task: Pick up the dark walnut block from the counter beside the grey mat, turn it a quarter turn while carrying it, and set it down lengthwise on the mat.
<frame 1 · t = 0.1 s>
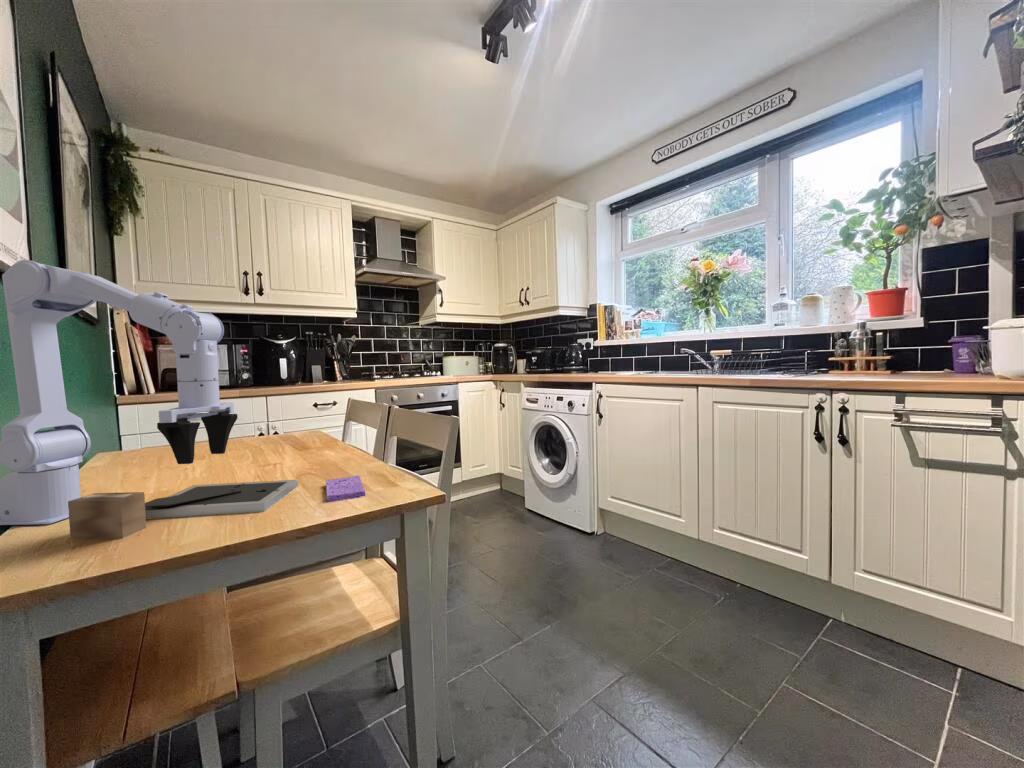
hand: (202, 458, 71), 10 cm above the table, tool pointing down, fingers open, 7 cm apart
picture frame: (226, 505, 79), on the table
walnut block: (109, 534, 64), on the table
sponges: (344, 494, 84), on the table
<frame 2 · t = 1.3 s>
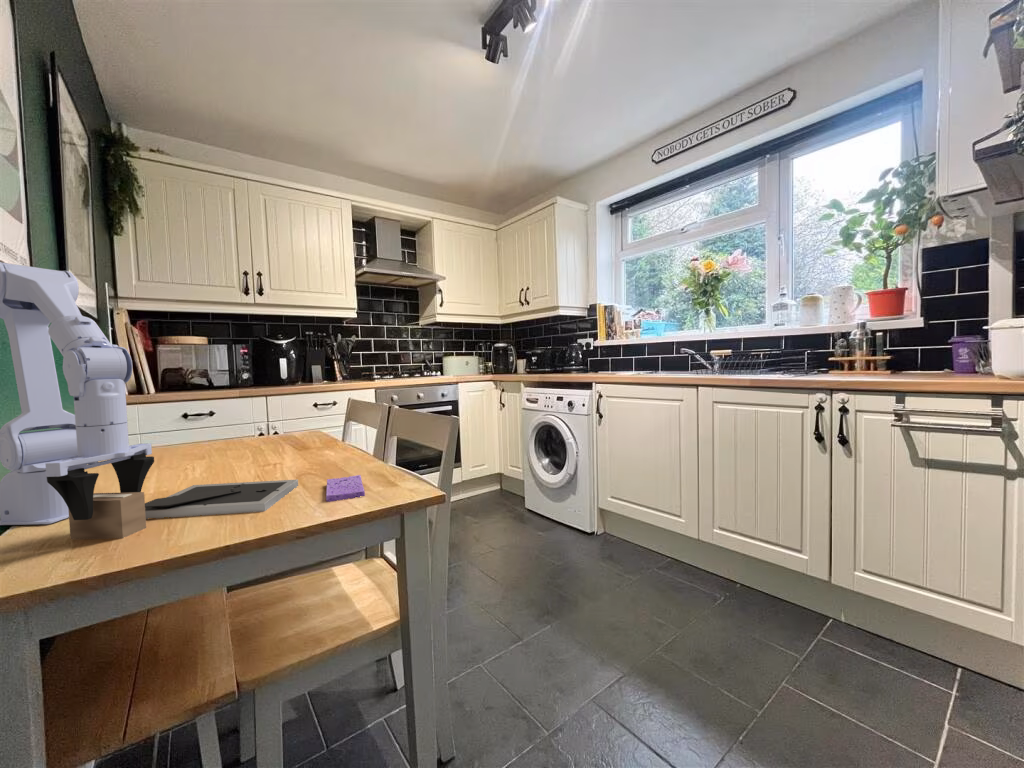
hand: (108, 510, 64), 4 cm above the table, tool pointing down, fingers open, 7 cm apart
nothing on the table moved.
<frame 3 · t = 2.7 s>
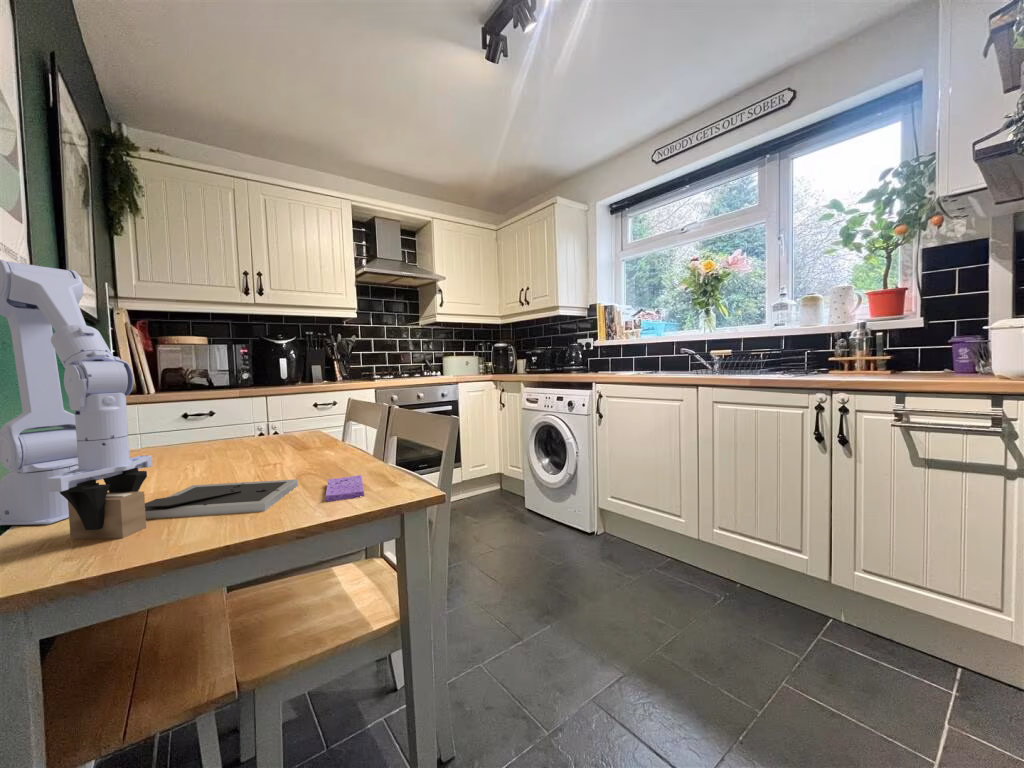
hand: (108, 523, 64), 2 cm above the table, tool pointing down, fingers closed on walnut block, 4 cm apart
walnut block: (109, 533, 64), on the table, touching gripper
everything else where it was.
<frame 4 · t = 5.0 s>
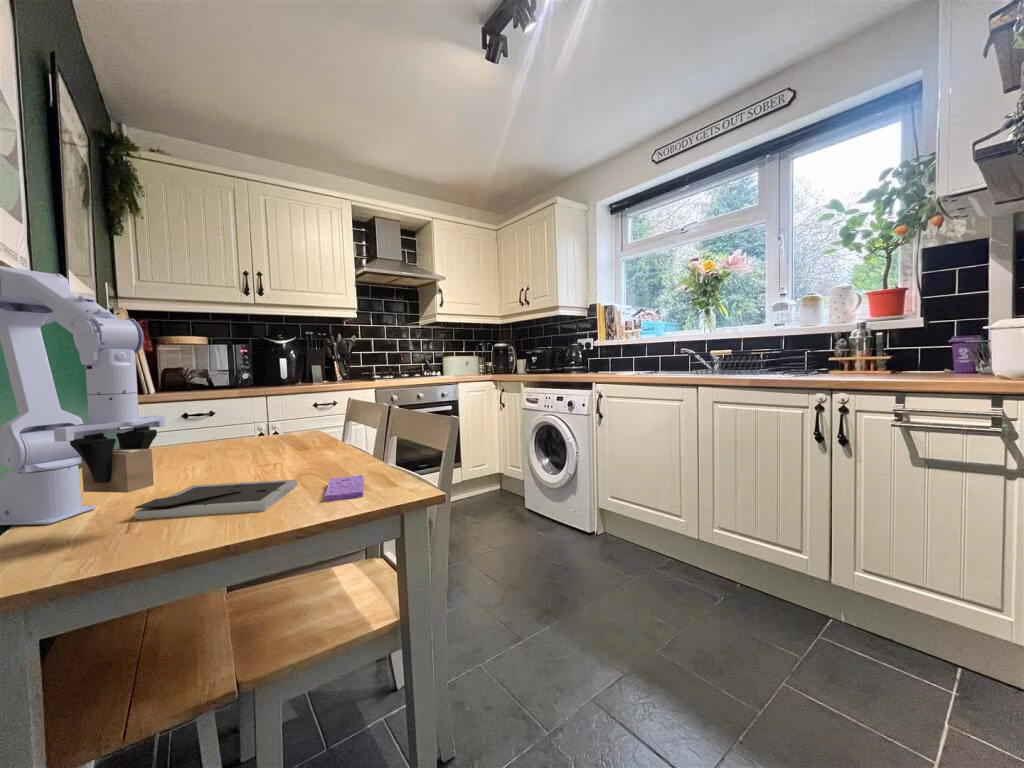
hand: (118, 478, 65), 8 cm above the table, tool pointing down, fingers closed on walnut block, 4 cm apart
walnut block: (119, 488, 65), point 7 cm above the table, touching gripper
everything else where it was.
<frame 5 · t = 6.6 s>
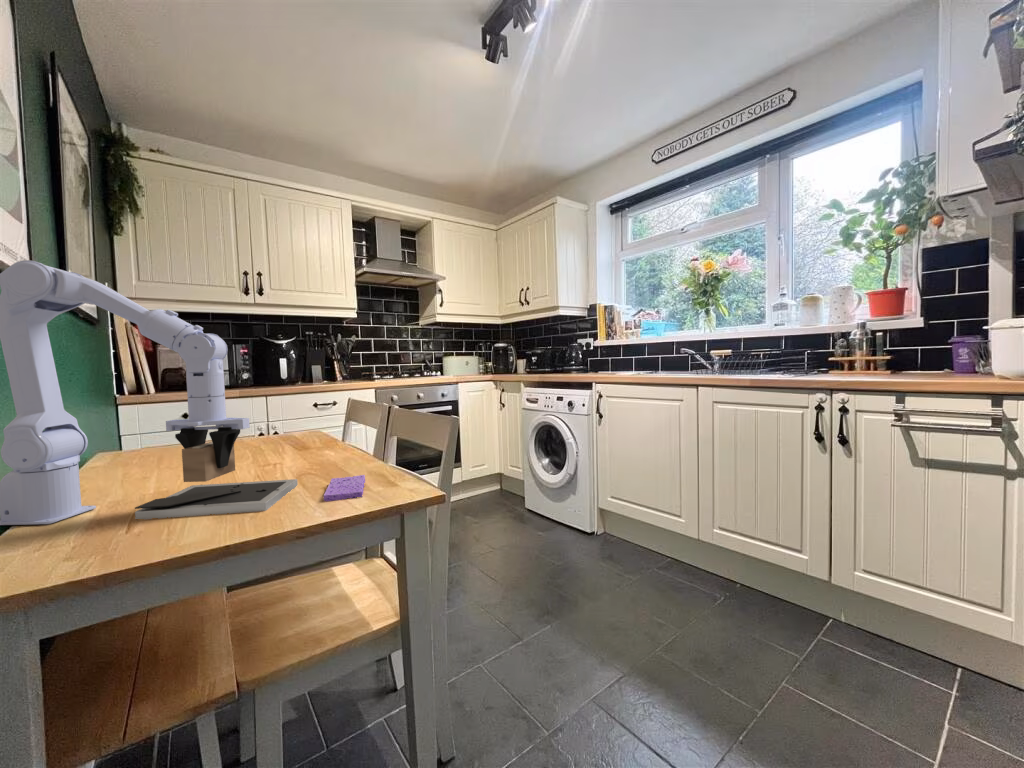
hand: (210, 467, 78), 7 cm above the table, tool pointing down, fingers closed on walnut block, 4 cm apart
walnut block: (210, 475, 78), point 5 cm above the table, touching gripper
everything else where it was.
when the fingers open (5 cm above the table, at t = 7.7 s): walnut block drops 2 cm, point 2 cm above the table.
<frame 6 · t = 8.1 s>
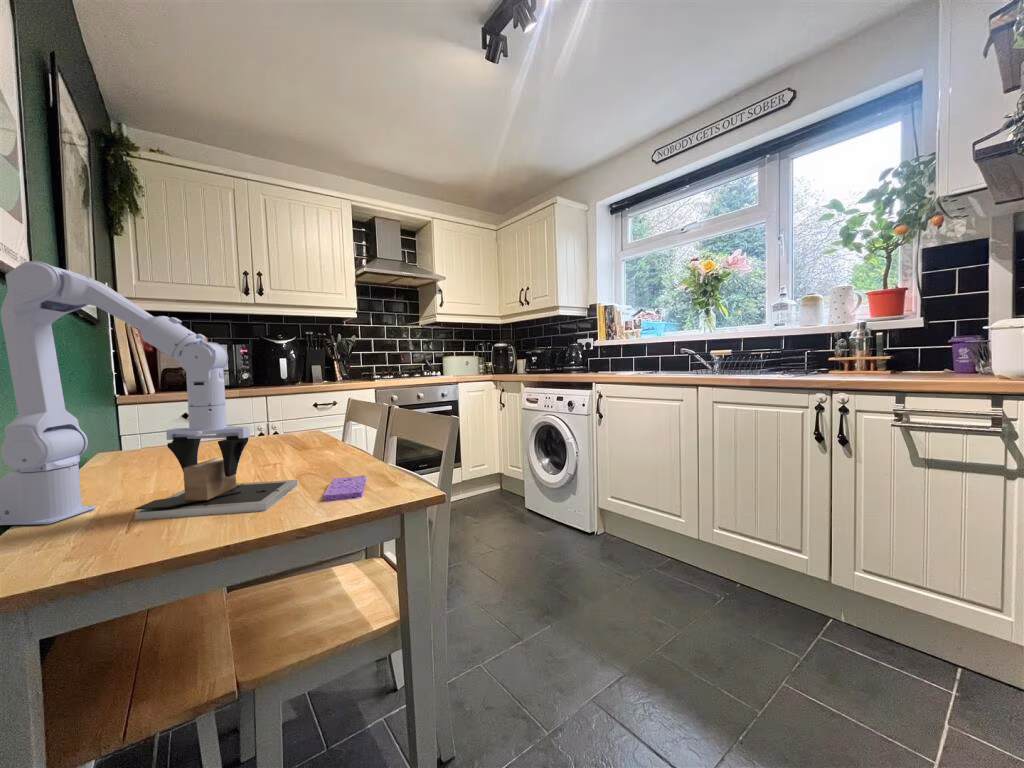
hand: (211, 475, 78), 5 cm above the table, tool pointing down, fingers open, 7 cm apart
walnut block: (212, 493, 78), point 2 cm above the table
everything else where it was.
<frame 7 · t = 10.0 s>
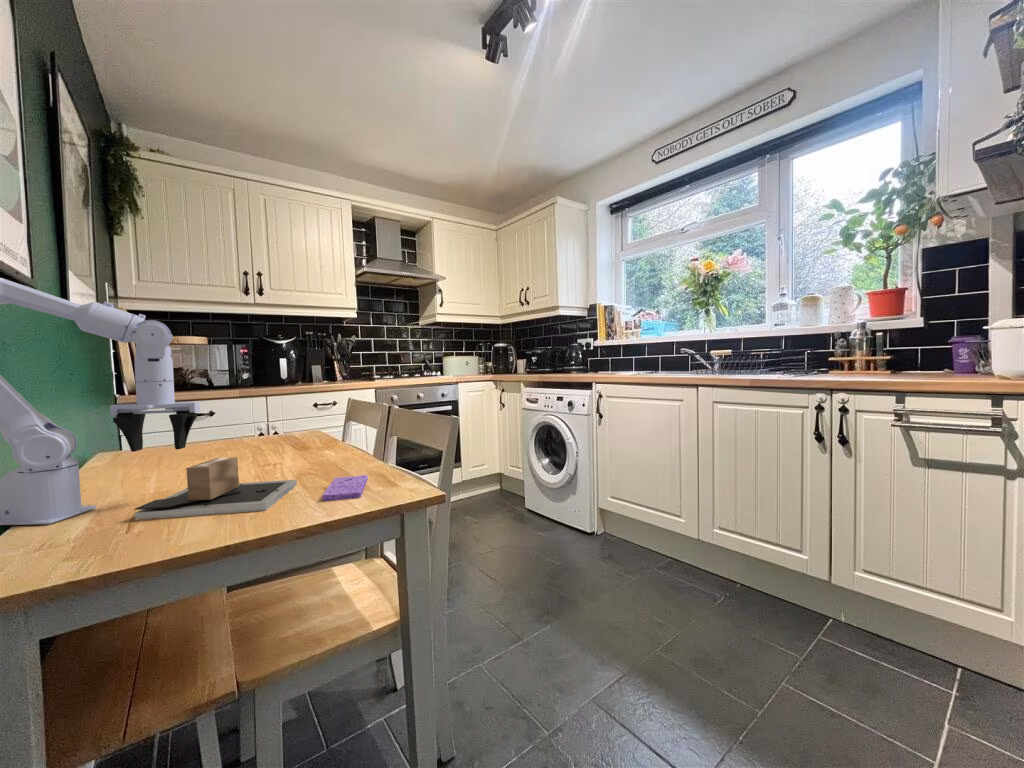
hand: (158, 449, 81), 10 cm above the table, tool pointing down, fingers open, 7 cm apart
picture frame: (226, 505, 79), on the table, touching walnut block
walnut block: (215, 493, 78), point 2 cm above the table, touching picture frame
everything else where it was.
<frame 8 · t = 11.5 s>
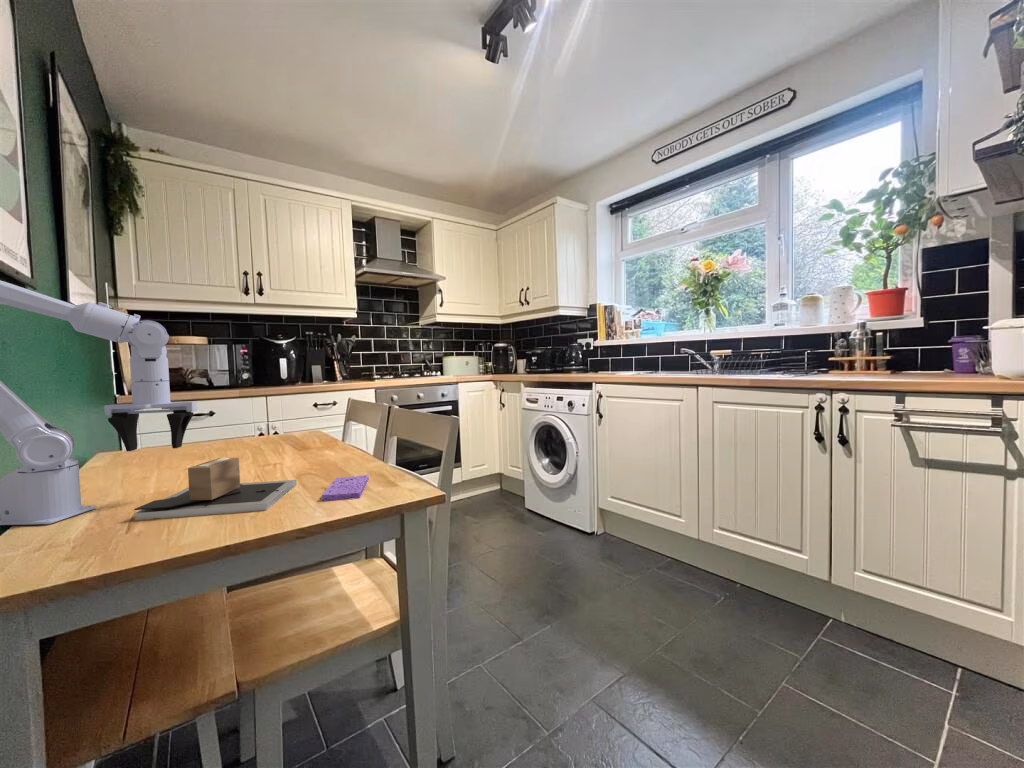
hand: (154, 448, 82), 10 cm above the table, tool pointing down, fingers open, 7 cm apart
nothing on the table moved.
at the end: walnut block inside the target area (0.7 cm from its centre), point 1.8 cm above the table; walnut block tilted 1°; the gripper is holding nothing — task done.
